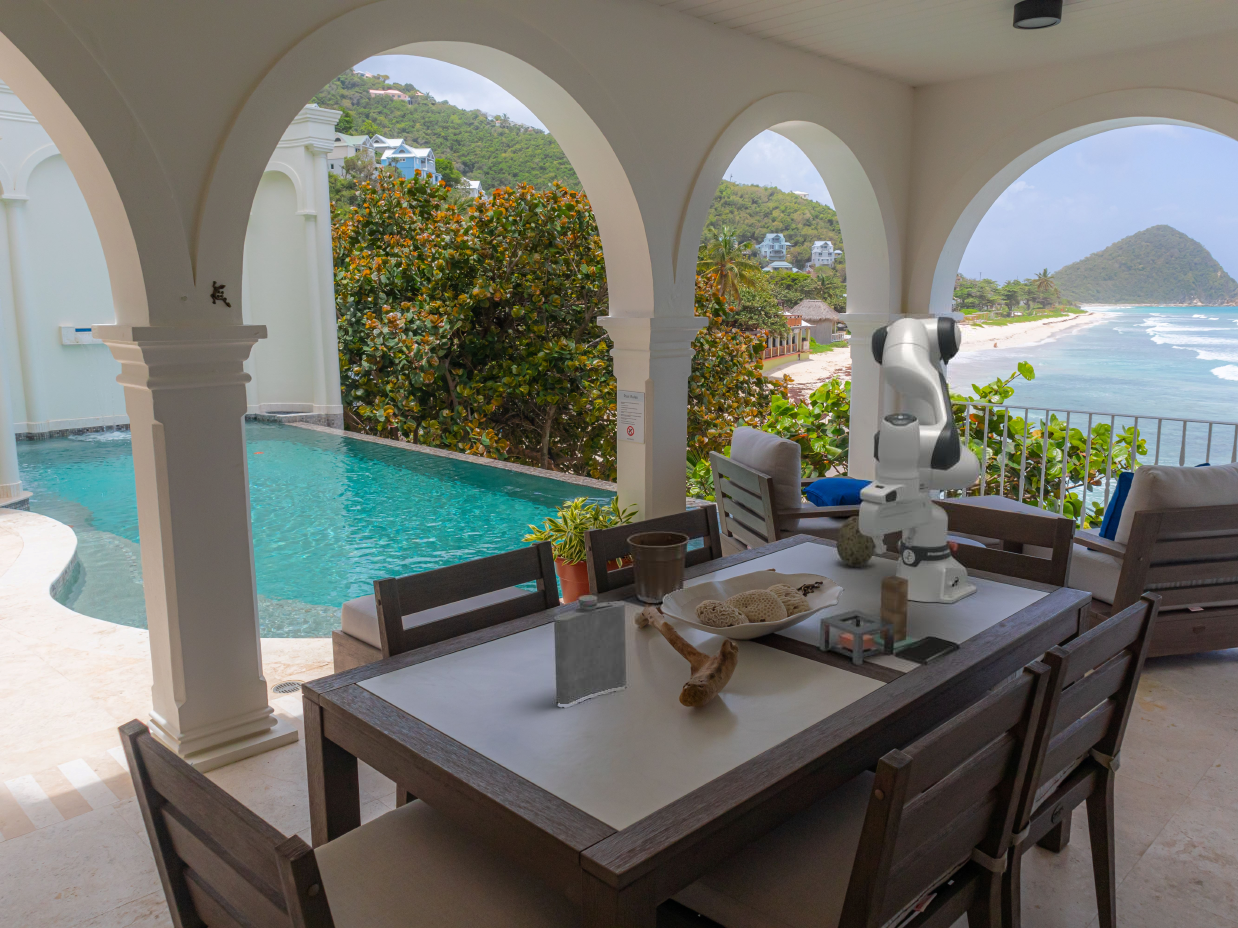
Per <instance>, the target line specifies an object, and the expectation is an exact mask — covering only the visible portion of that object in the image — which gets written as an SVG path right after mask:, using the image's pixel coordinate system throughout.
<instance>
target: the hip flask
mask: <svg viewBox="0 0 1238 928" xmlns="http://www.w3.org/2000/svg"><path fill="white" fill-rule="evenodd" d="M597 602H598V596H596V595H592V594H585V595H581V596H579V597H578V603H579V608H577V609H573V610H570V611H567V612H564V613H560V614H558V615H555V616H554V617H553V627H554V628H553V629H554V634H553V635H554V657H555V659H554V661H555V690H556V693H555V694H556V703H557V702H558V703H560V704H569V703H571V702H573V701H576V700H578V699H580V698H582V697H585V696H588V695H590V694H595V693H598V692H601V691H605V690H608V689H612V688H618V687H623V686H625V685H626V686H627V660H626V659H627V656H626V655H627V651H626V648H627V647H626V606H625V602H624V601H619V600H618V601H617V600H615V601H609V602H607V601H605V602H600V603H599V602H598V603H597Z"/></svg>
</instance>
